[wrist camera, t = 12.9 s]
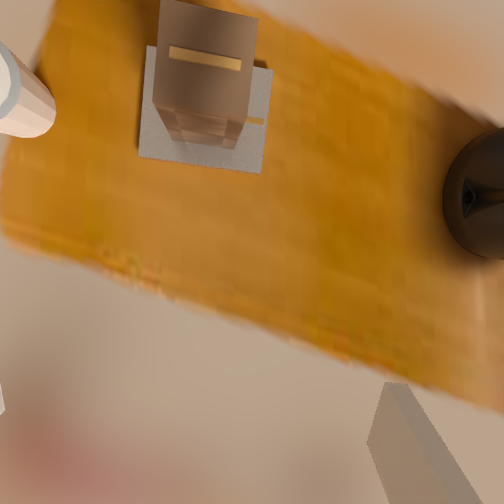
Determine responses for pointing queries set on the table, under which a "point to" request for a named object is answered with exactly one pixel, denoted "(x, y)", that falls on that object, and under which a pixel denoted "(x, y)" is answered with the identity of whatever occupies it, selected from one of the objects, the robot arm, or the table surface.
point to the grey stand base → (238, 160)
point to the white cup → (23, 99)
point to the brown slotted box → (203, 72)
